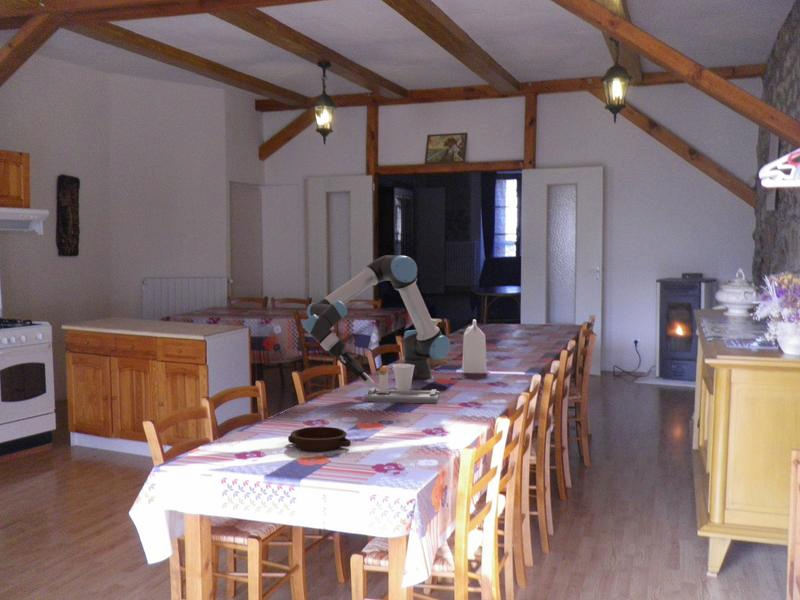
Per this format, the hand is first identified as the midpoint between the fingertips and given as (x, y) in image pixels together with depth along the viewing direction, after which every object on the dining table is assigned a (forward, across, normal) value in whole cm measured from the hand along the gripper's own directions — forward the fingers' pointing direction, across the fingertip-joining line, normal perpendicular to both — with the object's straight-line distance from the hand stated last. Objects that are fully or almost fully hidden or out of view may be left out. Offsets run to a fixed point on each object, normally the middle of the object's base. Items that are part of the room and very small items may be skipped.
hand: (372, 385), depth 334 cm
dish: (+1, -78, +8) cm, 78 cm away
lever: (+6, 0, -1) cm, 6 cm away
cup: (+12, +19, -4) cm, 23 cm away
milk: (+33, +73, -24) cm, 84 cm away
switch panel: (+13, 0, -5) cm, 14 cm away
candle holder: (+16, +93, -8) cm, 95 cm away
